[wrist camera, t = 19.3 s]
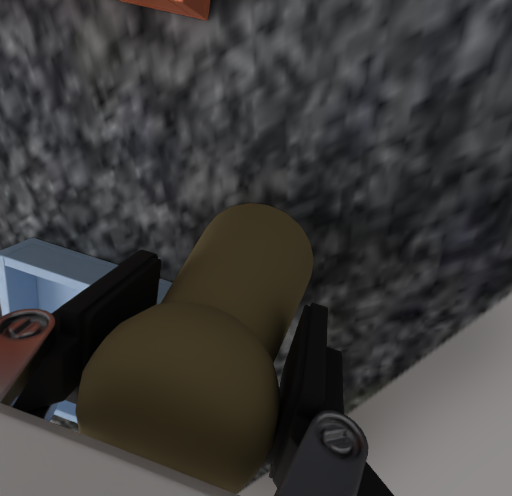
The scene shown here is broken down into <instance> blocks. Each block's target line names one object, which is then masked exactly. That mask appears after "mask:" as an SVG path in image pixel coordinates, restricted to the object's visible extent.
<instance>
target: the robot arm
mask: <svg viewBox="0 0 512 496" xmlns="http://www.w3.org/2000/svg"><path fill="white" fill-rule="evenodd" d="M160 270H161V260H160V259H158V256H157V254H155V253H151V252H148V251H145V250H140V251H138V252H137V253H135V254H134V255H132V256H131V257H130V258H128V259H127V260H125V261H124V262H123V263H121V264H120V265H118V266H117V267H116V268H114V269H113V270H111V271H110V272H108V273H107V274H106V275H104V276H103V277H101V278H100V279H99V280H97V281H96V282H94V283H93V284H92V285H90V286H89V287H87V288H86V289H84V290H83V291H82V292H80V293H79V294H77V295H76V296H75V297H73V298H72V299H70V300H69V301H67V302H66V303H65V304H63V305H62V306H60V308H58V309H57V310H55V311H54V312H53V313H49V312H48V311H46V310H41V309H21V310H17V311H14V312H10V313H8V314H6V315H4V316H2V317H1V318H0V496H239V495H237V494H234V493H232V492H229V491H226V490H224V489H221V488H219V487H216V486H214V485H211V484H209V483H206V482H204V481H201V480H199V479H196V478H193V477H191V476H188V475H186V474H183V473H181V472H178V471H176V470H173V469H171V468H168V467H166V466H163V465H160V464H158V463H155V462H153V461H150V460H148V459H145V458H142V457H140V456H137V455H135V454H132V453H130V452H127V451H124V450H122V449H119V448H117V447H114V446H112V445H109V444H106V443H104V442H101V441H99V440H96V439H93V438H91V437H88V436H86V435H83V434H81V433H78V432H75V431H73V430H70V429H68V428H65V427H62V426H60V425H57V424H55V423H52V422H50V420H51V418H52V416H53V414H54V412H55V410H56V408H57V405H58V403H59V402H63V401H64V400H66V401H68V402H71V403H74V404H76V403H77V397H78V391H79V386H80V382H81V377H82V372H83V370H84V368H85V366H86V365H87V363H88V361H89V359H90V358H91V356H92V354H93V353H94V352H95V350H96V349H97V348H98V347H99V345H100V344H101V343H102V342H103V340H104V339H105V338H106V336H108V335H109V334H110V333H111V332H112V331H113V330H114V329H115V328H116V327H117V326H118V325H119V324H120V323H121V322H123V321H125V320H127V319H129V318H131V317H133V316H135V315H137V314H139V313H140V312H142V311H144V310H146V309H148V308H150V307H152V306H154V305H156V304H157V297H158V288H159V279H160ZM327 321H328V308H327V307H325V306H321V305H318V304H315V303H312V304H311V306H308V305H305V306H304V309H303V312H302V315H301V318H300V321H299V324H298V327H297V329H296V332H295V335H294V338H293V341H292V344H291V347H290V350H289V353H288V356H287V359H286V362H285V365H284V368H283V373H282V377H281V382H280V387H279V392H280V406H279V414H278V421H277V427H276V433H275V437H274V443H273V445H272V447H271V450H270V452H269V454H268V456H267V458H266V460H265V462H267V463H270V464H271V468H270V474H269V477H270V478H273V482H274V483H275V485H276V487H277V491H276V493H275V495H274V496H394V495H393V494H392V493H391V491H390V490H389V489H388V488H387V486H386V485H385V484H384V483H383V482H382V480H381V479H380V478H379V477H378V475H377V474H376V473H375V472H374V471H373V470H372V468H371V467H370V466H369V465H368V463H367V462H366V459H367V456H368V443H367V440H366V437H365V435H364V433H363V431H362V430H361V428H360V427H359V426H358V425H357V424H356V423H355V422H354V421H353V420H352V419H350V418H349V417H348V416H346V415H344V406H343V373H342V353H341V351H337V350H334V349H331V348H328V347H327Z"/></svg>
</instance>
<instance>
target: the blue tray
mask: <svg viewBox="0 0 512 496" xmlns="http://www.w3.org/2000/svg"><path fill="white" fill-rule="evenodd" d="M117 266H118V265H117V264H113V263H110V262H107V261H104V260H101V259H98V258H95V257H92V256H89V255H85V254H82V253H79V252H76V251H73V250H70V249H67V248H64V247H61V246H57V245H54V244H51V243H48V242H45V241H42V240H39V239H36V238H30V239H27V240H26V241H23V242H20V243H18V244H15V245H13V246H11V247H8V248H6V249H3V250H1V251H0V301H1V309H2V316H4V315H6V314H8V313H10V312H14V311H17V310H21V309H41V310H46V311H48V312H49V313H53V312H54V311H55V310H57V309H58V308H60V306H62V305H63V304H65V303H66V302H67V301H69V300H70V299H72V298H73V297H75V296H76V295H77V294H79V293H80V292H82V291H83V290H84V289H86V288H87V287H89V286H90V285H92V284H93V283H94V282H96V281H97V280H99V279H100V278H101V277H103V276H104V275H106V274H107V273H108V272H110V271H111V270H113V269H114V268H116V267H117ZM172 283H173V282H169V281H166V280H163V279H159V288H158V297H157V304H160V303H161V301H162V300H163V298H164V296H165V295H166V293H167V291H168V290H169V288H170V286H171V285H172ZM75 409H76V404H74V403H71V402H68V401H66V400H64V401H63V402H59V403H58V405H57V408H56V410H55V412H54V414H55V415H58V416H60V417H63V418H65V419H68V420H71V421H73V422H76V423H78V422H77V418H76V413H75Z"/></svg>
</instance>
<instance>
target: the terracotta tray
mask: <svg viewBox="0 0 512 496" xmlns="http://www.w3.org/2000/svg"><path fill="white" fill-rule="evenodd" d="M117 1H122V2H126V3H131V4H135V5H140V6H144V7H149V8H153V9H158V10H162V11H167V12H171V13H176V14H180V15H184V16H189V17H193V18H198V19H202V20H208V16H209V8H210V1H211V0H117Z"/></svg>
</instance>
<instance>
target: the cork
mask: <svg viewBox="0 0 512 496" xmlns="http://www.w3.org/2000/svg"><path fill="white" fill-rule="evenodd" d="M313 262H314V258H313V253H312V248H311V243H310V241H309V239H308V237H307V236H306V234H305V232H304V231H303V229H302V227H301V226H300V225H299V224H298V223H297V222H296V221H295V220H293V219H292V218H291V217H290V216H289V215H288V214H287V213H285V212H283V211H280V210H278V209H276V208H274V207H272V206H269V205H264V204H255V203H246V204H241V205H236V206H231V207H230V208H228V209H226V210H225V211H223V212H221V213H219V214H218V215H216V217H215V218H214V219H213V220H212V221H211V223H210V224H209V225H208V226H207V227H206V229H205V231H204V232H203V234H202V235H201V237H200V239H199V240H198V242H197V244H196V245H195V247H194V249H193V250H192V252H191V254H190V255H189V257H188V258H187V260H186V262H185V263H184V265H183V267H182V268H181V270H180V272H179V273H178V275H177V277H176V278H175V280H174V282H173V283H172V285H171V286H170V288H169V290H168V291H167V293H166V295H165V296H164V298H163V300H162V301H161V303H160V304H156V305H154V306H152V307H150V308H148V309H146V310H144V311H142V312H140V313H139V314H137V315H135V316H133V317H131V318H129V319H127V320H125V321H123V322H121V323H120V324H119V325H118V326H117V327H116V328H115V329H114V330H113V331H112V332H111V333H110V334H109V335H108V336H106V338H105V339H104V340H103V342H102V343H101V344H100V345H99V347H98V348H97V349H96V350H95V352H94V353H93V354H92V356H91V358H90V359H89V361H88V363H87V365H86V366H85V368H84V370H83V372H82V377H81V382H80V386H79V391H78V397H77V403H76V409H75V413H76V418H77V422H78V427H79V431H80V433H81V434H83V435H86V436H88V437H91V438H93V439H96V440H99V441H101V442H104V443H106V444H109V445H112V446H114V447H117V448H119V449H122V450H124V451H127V452H130V453H132V454H135V455H137V456H140V457H142V458H145V459H148V460H150V461H153V462H155V463H158V464H160V465H163V466H166V467H168V468H171V469H173V470H176V471H178V472H181V473H183V474H186V475H188V476H191V477H193V478H196V479H199V480H201V481H204V482H206V483H209V484H211V485H214V486H216V487H219V488H221V489H224V490H226V491H229V492H232V493H234V494H236V493H238V492H239V491H240V490H241V489H242V488H244V487H245V486H246V485H247V484H248V483H249V482H250V481H251V480H252V479H253V478H254V476H255V475H256V473H257V472H258V470H259V469H260V468H261V466H262V465H263V463H264V462H265V460H266V458H267V456H268V454H269V452H270V450H271V447H272V445H273V443H274V437H275V433H276V427H277V421H278V414H279V406H280V392H279V385H278V379H277V376H276V372H275V368H274V365H273V363H274V361H275V358H276V356H277V354H278V352H279V349H280V347H281V345H282V342H283V340H284V338H285V336H286V333H287V331H288V329H289V326H290V324H291V322H292V320H293V317H294V315H295V313H296V310H297V308H298V306H299V304H300V301H301V299H302V297H303V294H304V292H305V290H306V288H307V285H308V283H309V281H310V278H311V276H312V269H313Z"/></svg>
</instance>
